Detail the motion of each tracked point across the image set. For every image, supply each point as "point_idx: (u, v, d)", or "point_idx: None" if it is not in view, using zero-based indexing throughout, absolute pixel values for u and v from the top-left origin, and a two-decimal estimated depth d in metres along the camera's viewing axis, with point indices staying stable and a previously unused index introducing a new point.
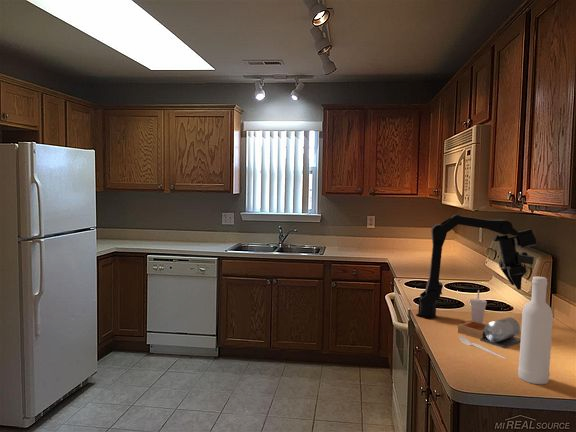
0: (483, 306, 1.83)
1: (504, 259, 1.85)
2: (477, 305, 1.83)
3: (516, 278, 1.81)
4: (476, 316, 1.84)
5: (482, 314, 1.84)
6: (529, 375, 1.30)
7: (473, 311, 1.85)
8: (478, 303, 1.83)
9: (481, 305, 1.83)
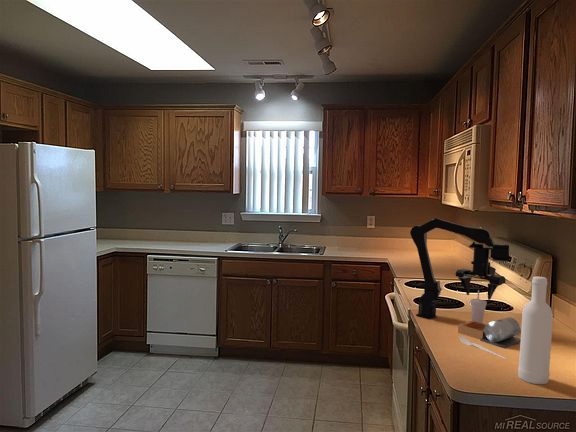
0: (483, 306, 1.83)
1: (480, 268, 1.82)
2: (477, 305, 1.83)
3: (492, 288, 1.80)
4: (476, 316, 1.84)
5: (482, 314, 1.84)
6: (529, 375, 1.30)
7: (473, 311, 1.85)
8: (478, 303, 1.83)
9: (481, 305, 1.83)
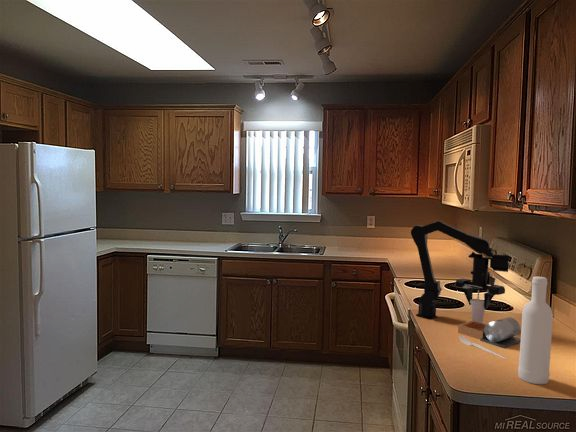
0: (483, 306, 1.83)
1: (479, 278, 1.82)
2: (477, 305, 1.83)
3: (488, 297, 1.81)
4: (475, 316, 1.84)
5: (482, 314, 1.84)
6: (529, 375, 1.30)
7: (473, 311, 1.85)
8: (478, 303, 1.83)
9: (481, 305, 1.83)
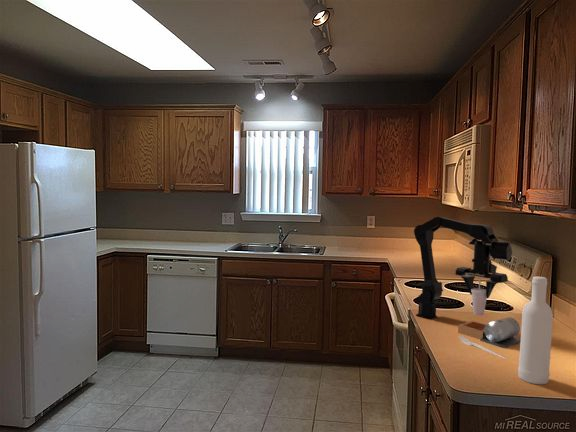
0: (485, 295, 1.76)
1: (481, 266, 1.75)
2: (479, 294, 1.76)
3: (490, 286, 1.74)
4: (477, 306, 1.77)
5: (484, 304, 1.77)
6: (529, 375, 1.30)
7: (474, 301, 1.78)
8: (480, 292, 1.76)
9: (483, 294, 1.76)
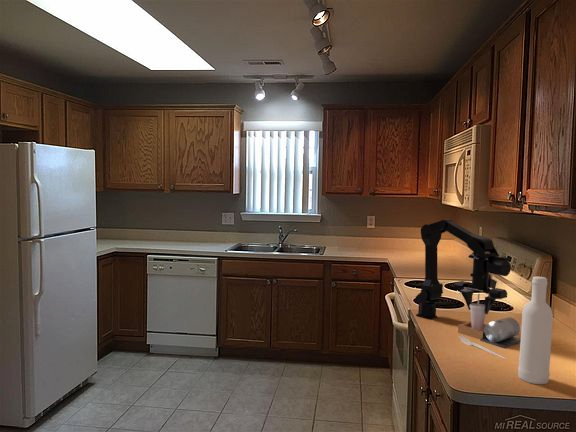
0: (483, 311, 1.70)
1: (480, 281, 1.69)
2: (477, 310, 1.70)
3: (489, 302, 1.69)
4: (475, 322, 1.71)
5: (482, 320, 1.71)
6: (529, 375, 1.30)
7: (473, 316, 1.72)
8: (478, 308, 1.70)
9: (481, 310, 1.70)
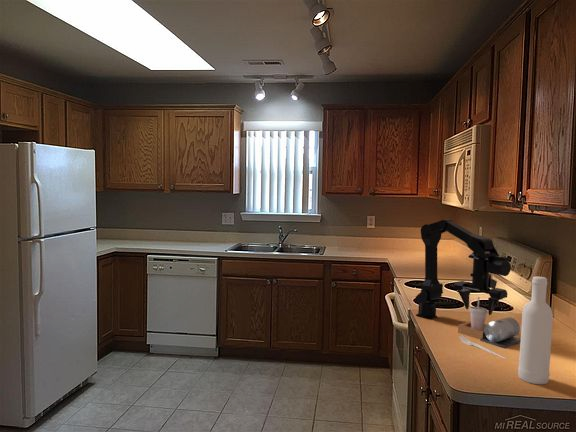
0: (483, 315, 1.70)
1: (480, 281, 1.69)
2: (477, 313, 1.70)
3: (493, 302, 1.67)
4: (475, 325, 1.71)
5: (482, 323, 1.71)
6: (529, 375, 1.30)
7: (473, 320, 1.72)
8: (478, 311, 1.70)
9: (481, 313, 1.70)
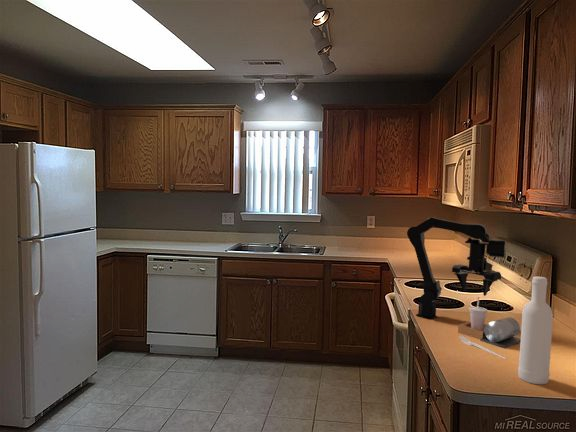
0: (483, 315, 1.70)
1: (475, 264, 1.82)
2: (477, 313, 1.70)
3: (487, 284, 1.80)
4: (475, 325, 1.71)
5: (482, 323, 1.71)
6: (529, 375, 1.30)
7: (473, 320, 1.72)
8: (478, 311, 1.70)
9: (481, 313, 1.70)
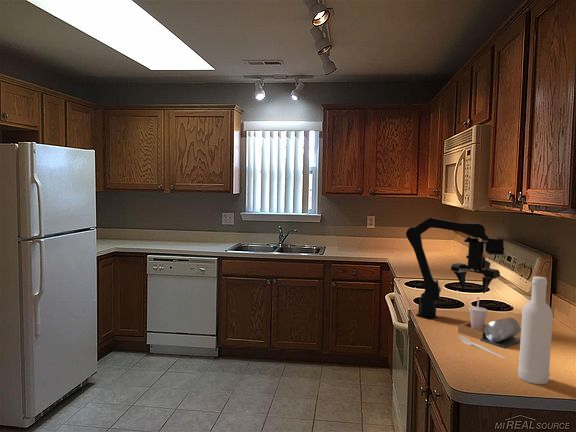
0: (483, 315, 1.70)
1: (475, 262, 1.85)
2: (477, 313, 1.70)
3: (487, 282, 1.83)
4: (475, 325, 1.71)
5: (482, 323, 1.71)
6: (529, 375, 1.30)
7: (473, 320, 1.72)
8: (478, 311, 1.70)
9: (481, 313, 1.70)
